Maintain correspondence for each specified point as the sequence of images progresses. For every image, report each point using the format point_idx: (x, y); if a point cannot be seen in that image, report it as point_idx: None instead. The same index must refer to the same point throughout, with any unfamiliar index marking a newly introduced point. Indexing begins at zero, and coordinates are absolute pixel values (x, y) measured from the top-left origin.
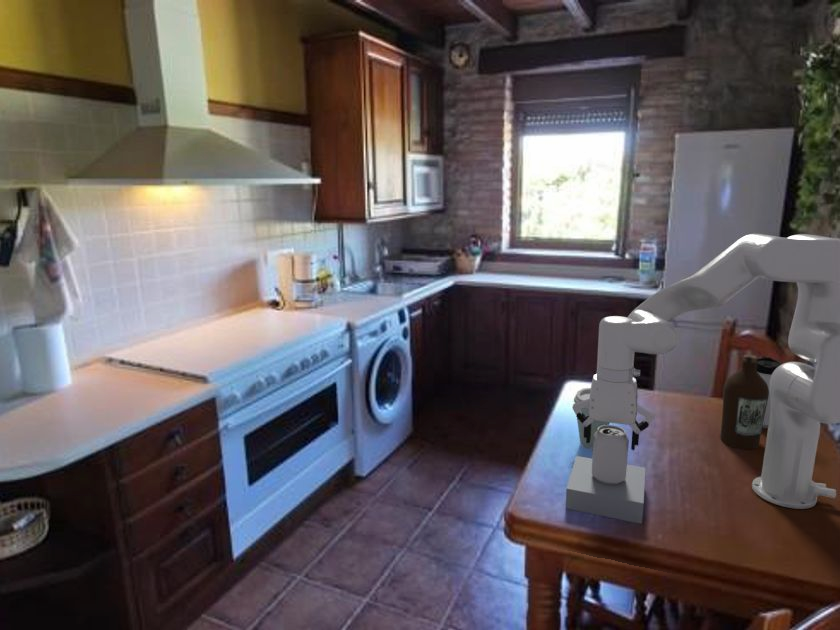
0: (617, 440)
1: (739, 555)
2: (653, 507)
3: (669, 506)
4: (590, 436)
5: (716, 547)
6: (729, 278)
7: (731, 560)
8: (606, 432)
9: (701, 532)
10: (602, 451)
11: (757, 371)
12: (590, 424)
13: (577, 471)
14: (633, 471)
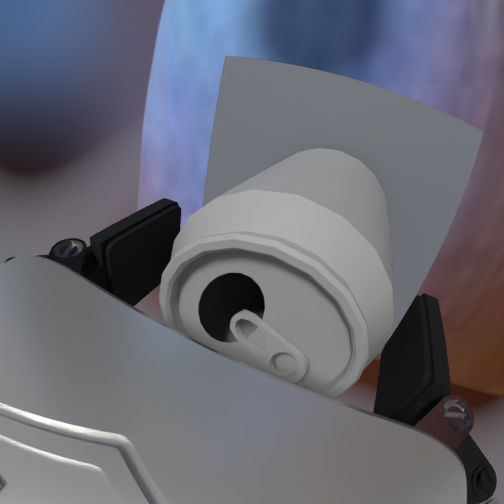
0: None
1: (498, 375)
2: (448, 238)
3: (487, 235)
4: (166, 239)
5: (482, 362)
6: None
7: (478, 384)
8: (263, 183)
9: (490, 327)
10: (240, 324)
11: None
12: (108, 272)
13: (224, 170)
14: (434, 159)
